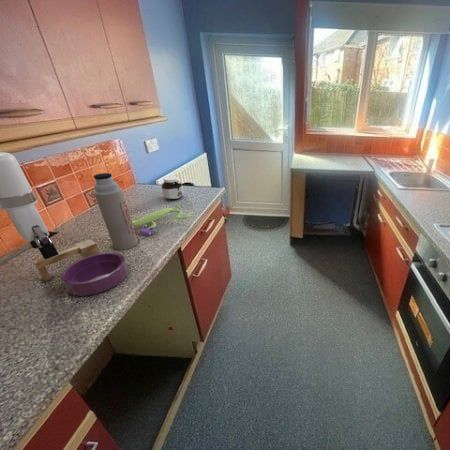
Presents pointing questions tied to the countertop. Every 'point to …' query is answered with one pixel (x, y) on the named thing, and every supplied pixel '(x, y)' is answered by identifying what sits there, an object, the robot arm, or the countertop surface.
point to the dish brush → (81, 248)
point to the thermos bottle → (114, 211)
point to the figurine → (154, 217)
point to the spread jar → (172, 188)
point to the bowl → (95, 274)
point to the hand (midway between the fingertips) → (45, 251)
